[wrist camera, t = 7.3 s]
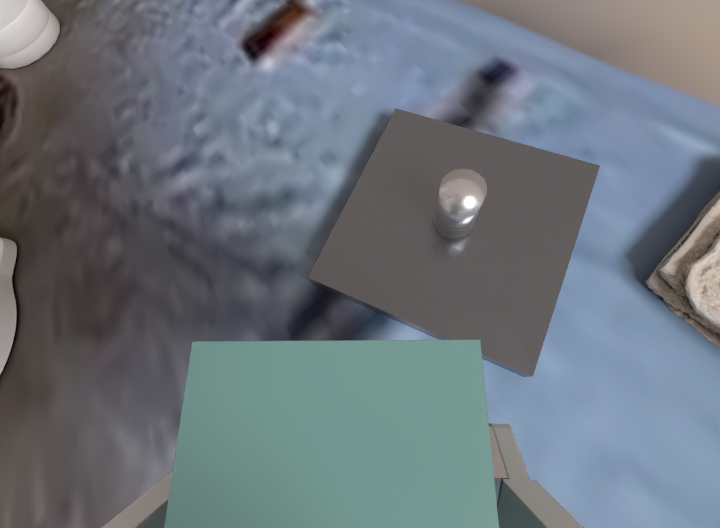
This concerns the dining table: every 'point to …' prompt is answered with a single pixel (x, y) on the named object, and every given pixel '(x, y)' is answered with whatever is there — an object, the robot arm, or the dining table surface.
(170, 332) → the dining table surface
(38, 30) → the bottle
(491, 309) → the stub plate
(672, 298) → the washcloth
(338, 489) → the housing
